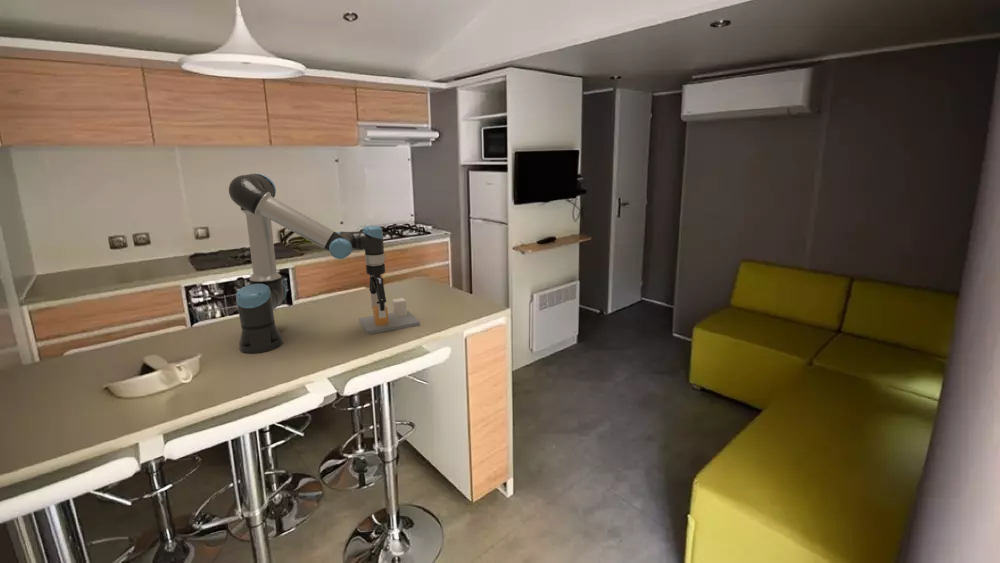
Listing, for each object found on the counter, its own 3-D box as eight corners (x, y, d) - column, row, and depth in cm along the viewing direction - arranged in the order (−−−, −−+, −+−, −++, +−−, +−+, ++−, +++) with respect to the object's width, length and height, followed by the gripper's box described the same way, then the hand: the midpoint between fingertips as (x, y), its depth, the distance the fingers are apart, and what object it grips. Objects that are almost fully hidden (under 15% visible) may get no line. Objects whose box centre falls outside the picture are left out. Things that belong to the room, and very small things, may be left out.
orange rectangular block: (376, 325, 202) (375, 309, 201) (374, 322, 207) (372, 306, 205) (388, 323, 205) (387, 308, 203) (385, 320, 209) (384, 304, 207)
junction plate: (367, 334, 197) (365, 314, 195) (359, 321, 213) (357, 302, 210) (419, 325, 206) (418, 306, 204) (408, 313, 222) (406, 295, 220)
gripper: (391, 269, 190) (394, 320, 195) (377, 257, 211) (380, 303, 217) (372, 271, 186) (376, 323, 192) (360, 258, 208) (363, 305, 214)
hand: (378, 312), depth 204 cm, fingers open, 13 cm apart
